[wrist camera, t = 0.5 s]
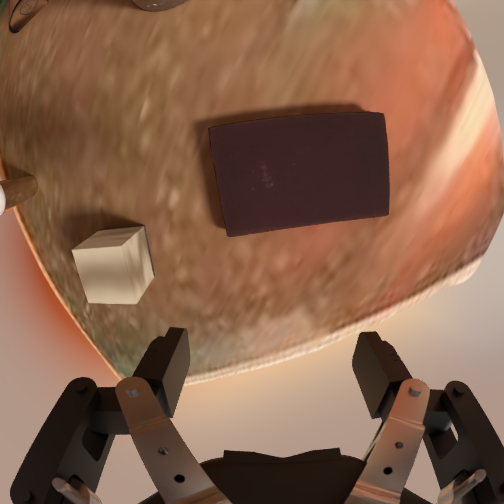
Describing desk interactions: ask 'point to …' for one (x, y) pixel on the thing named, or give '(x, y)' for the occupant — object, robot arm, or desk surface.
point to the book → (301, 170)
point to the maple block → (115, 265)
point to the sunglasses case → (23, 12)
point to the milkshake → (16, 192)
